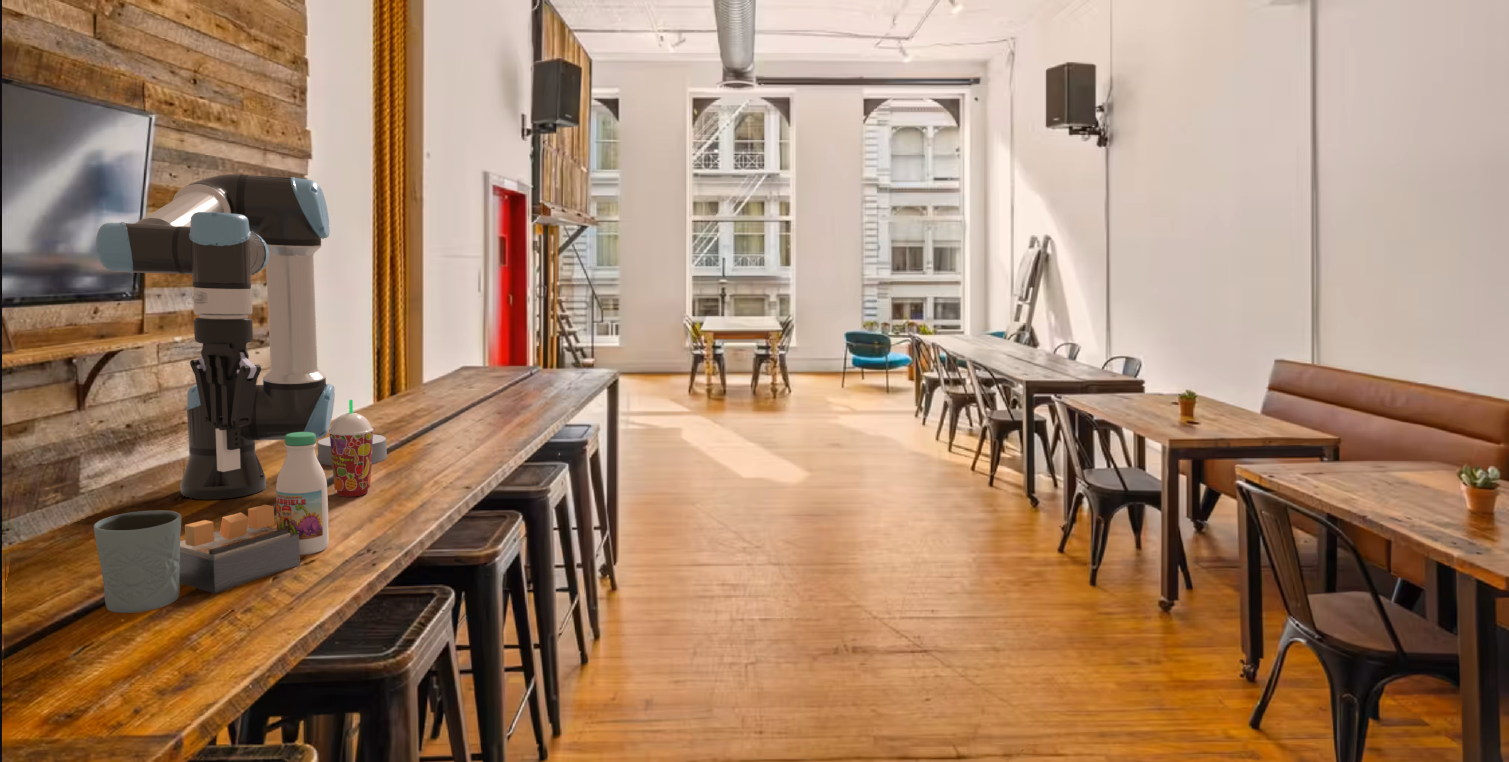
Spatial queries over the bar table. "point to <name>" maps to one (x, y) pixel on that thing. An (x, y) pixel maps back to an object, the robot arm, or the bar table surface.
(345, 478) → the smoothie
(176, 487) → the bar table surface
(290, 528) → the milk bottle
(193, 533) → the orange tall rectangular block
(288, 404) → the robot arm
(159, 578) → the gray green pot
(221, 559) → the gray rectangular tray
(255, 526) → the tan wooden block
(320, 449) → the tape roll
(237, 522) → the small orange block
